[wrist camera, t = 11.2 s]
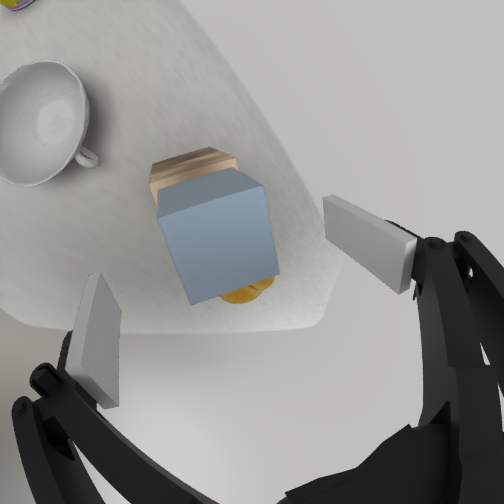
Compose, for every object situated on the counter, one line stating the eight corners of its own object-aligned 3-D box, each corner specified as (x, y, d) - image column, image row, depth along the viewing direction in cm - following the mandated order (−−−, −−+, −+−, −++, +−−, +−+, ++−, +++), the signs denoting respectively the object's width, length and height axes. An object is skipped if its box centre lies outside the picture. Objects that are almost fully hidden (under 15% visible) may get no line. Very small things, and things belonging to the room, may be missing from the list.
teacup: (0, 140, 21) (-34, 148, 14) (56, 55, 19) (30, 39, 12) (78, 203, 28) (58, 225, 22) (139, 118, 27) (132, 115, 20)
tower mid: (171, 235, 28) (175, 261, 23) (151, 172, 25) (148, 184, 20) (234, 215, 29) (252, 236, 24) (220, 151, 26) (235, 157, 21)
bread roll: (199, 274, 38) (204, 290, 35) (248, 232, 38) (258, 244, 34) (235, 306, 42) (242, 322, 39) (280, 269, 42) (291, 282, 39)
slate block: (180, 256, 23) (191, 305, 17) (157, 189, 20) (157, 218, 14) (247, 233, 24) (279, 273, 18) (231, 166, 21) (263, 185, 15)
